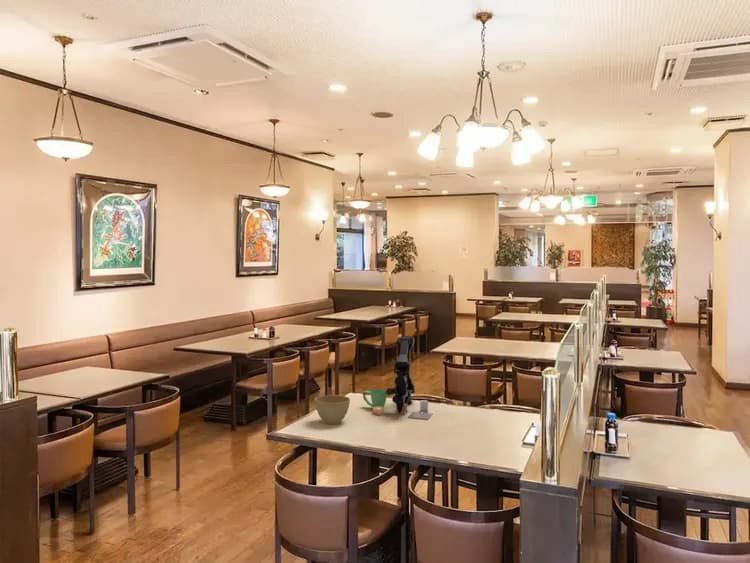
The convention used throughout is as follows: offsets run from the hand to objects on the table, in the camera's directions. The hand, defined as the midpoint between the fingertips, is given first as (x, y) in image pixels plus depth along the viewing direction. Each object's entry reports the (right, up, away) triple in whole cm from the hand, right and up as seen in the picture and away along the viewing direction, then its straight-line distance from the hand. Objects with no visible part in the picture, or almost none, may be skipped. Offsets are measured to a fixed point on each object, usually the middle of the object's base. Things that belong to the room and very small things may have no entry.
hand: (401, 411), depth 313 cm
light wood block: (+13, -1, +4) cm, 13 cm away
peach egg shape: (-13, -1, -1) cm, 13 cm away
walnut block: (0, -1, 0) cm, 1 cm away
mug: (-15, -1, +10) cm, 18 cm away
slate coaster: (+10, -2, -6) cm, 11 cm away
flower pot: (-37, -2, -18) cm, 41 cm away
